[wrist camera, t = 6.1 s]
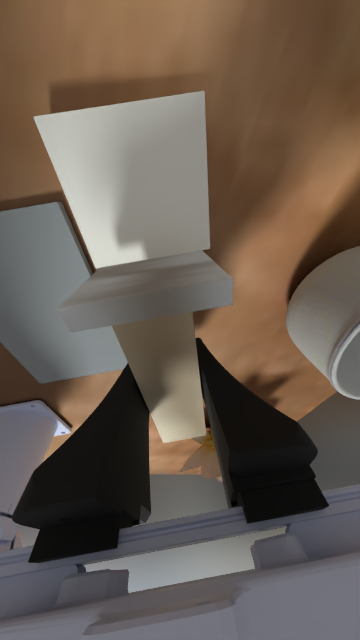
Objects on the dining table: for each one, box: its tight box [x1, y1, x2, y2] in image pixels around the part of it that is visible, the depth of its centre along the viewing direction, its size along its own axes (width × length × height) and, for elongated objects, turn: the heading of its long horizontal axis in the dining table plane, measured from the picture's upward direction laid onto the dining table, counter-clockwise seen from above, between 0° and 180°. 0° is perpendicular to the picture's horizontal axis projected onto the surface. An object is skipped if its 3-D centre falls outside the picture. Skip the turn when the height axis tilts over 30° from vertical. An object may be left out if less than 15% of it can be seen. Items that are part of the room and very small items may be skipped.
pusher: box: [56, 250, 233, 443], centre depth 11 cm, size 6×11×5 cm, turn 8°
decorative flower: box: [179, 430, 223, 481], centre depth 25 cm, size 15×11×10 cm
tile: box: [33, 91, 210, 268], centre depth 11 cm, size 8×2×7 cm
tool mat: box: [0, 202, 128, 384], centre depth 15 cm, size 10×15×1 cm, turn 8°
